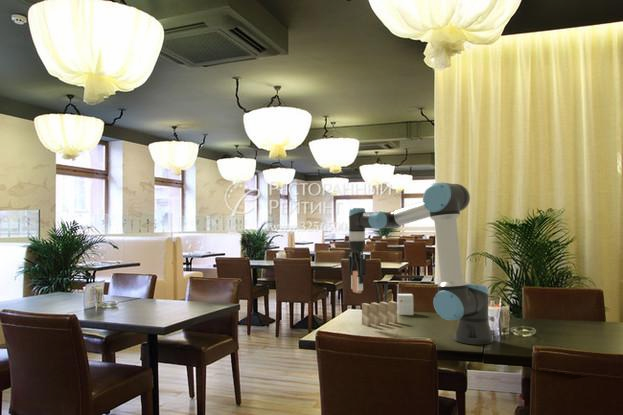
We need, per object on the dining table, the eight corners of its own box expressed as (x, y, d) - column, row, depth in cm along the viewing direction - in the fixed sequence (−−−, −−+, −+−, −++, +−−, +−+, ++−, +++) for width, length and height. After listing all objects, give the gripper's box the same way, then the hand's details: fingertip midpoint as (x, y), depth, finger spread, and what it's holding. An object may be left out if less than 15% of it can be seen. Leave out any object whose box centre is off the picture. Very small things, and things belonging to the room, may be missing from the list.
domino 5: (391, 321, 249) (391, 301, 250) (397, 323, 245) (397, 302, 245) (388, 321, 249) (388, 301, 249) (393, 323, 244) (393, 302, 244)
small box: (412, 313, 270) (412, 293, 271) (413, 315, 265) (413, 295, 265) (397, 313, 271) (397, 293, 271) (398, 315, 266) (398, 295, 266)
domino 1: (356, 291, 241) (356, 270, 242) (361, 292, 237) (361, 271, 237) (352, 291, 241) (352, 270, 241) (357, 293, 236) (357, 271, 236)
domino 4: (383, 322, 247) (382, 301, 248) (388, 324, 243) (388, 303, 243) (379, 322, 247) (379, 302, 247) (385, 324, 242) (385, 303, 242)
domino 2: (365, 324, 243) (365, 303, 243) (370, 326, 239) (370, 304, 239) (361, 324, 242) (361, 303, 243) (367, 326, 238) (367, 305, 238)
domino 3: (374, 323, 245) (374, 302, 245) (379, 325, 241) (379, 304, 241) (370, 323, 244) (370, 302, 245) (376, 325, 240) (376, 304, 240)
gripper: (373, 241, 233) (373, 291, 232) (354, 239, 249) (354, 286, 249) (359, 241, 229) (359, 292, 229) (341, 239, 246) (341, 287, 245)
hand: (357, 289), depth 239 cm, fingers closed on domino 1, 5 cm apart
